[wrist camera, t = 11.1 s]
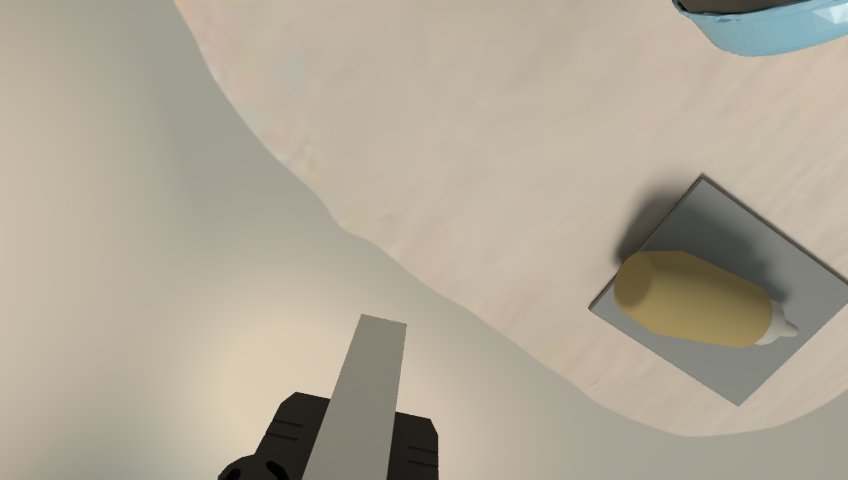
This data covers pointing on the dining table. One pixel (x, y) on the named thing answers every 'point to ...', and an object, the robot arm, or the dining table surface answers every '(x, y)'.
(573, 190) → the dining table surface
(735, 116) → the dining table surface
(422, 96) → the dining table surface
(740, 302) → the squeeze bottle
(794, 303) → the rubber mat
